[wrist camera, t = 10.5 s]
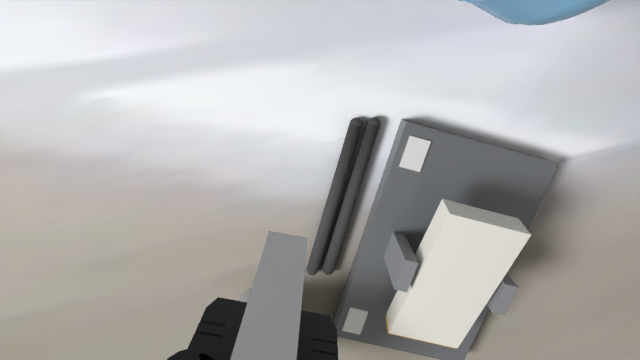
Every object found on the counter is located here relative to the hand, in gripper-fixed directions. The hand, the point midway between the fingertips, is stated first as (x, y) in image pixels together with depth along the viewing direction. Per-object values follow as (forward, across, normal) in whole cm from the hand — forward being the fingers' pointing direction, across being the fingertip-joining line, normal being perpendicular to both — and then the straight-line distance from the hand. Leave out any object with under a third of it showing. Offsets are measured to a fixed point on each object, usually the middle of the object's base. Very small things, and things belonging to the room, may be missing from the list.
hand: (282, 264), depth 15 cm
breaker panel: (+23, +15, -9) cm, 29 cm away
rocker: (+18, +15, -9) cm, 25 cm away
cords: (+23, +5, -6) cm, 24 cm away
